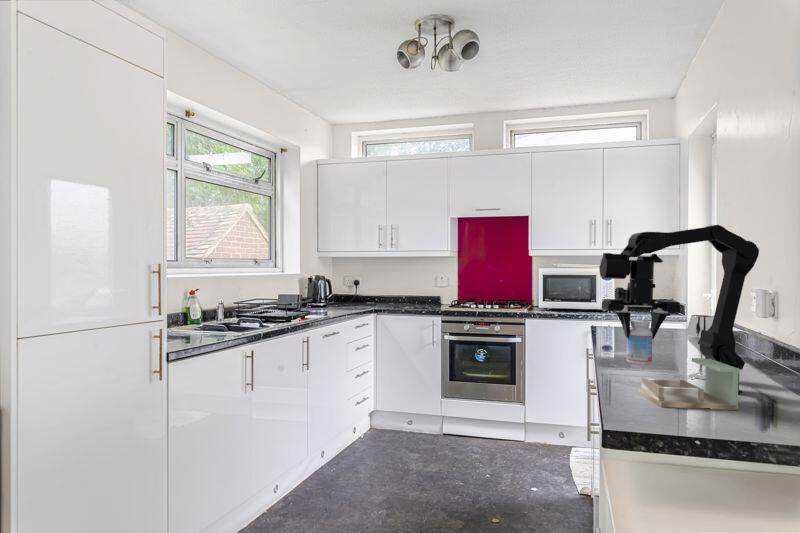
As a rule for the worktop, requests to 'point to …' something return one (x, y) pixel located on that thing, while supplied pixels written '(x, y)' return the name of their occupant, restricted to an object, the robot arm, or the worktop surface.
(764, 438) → the worktop surface
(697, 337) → the wineglass
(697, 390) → the socket board
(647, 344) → the pill bottle
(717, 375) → the awning
